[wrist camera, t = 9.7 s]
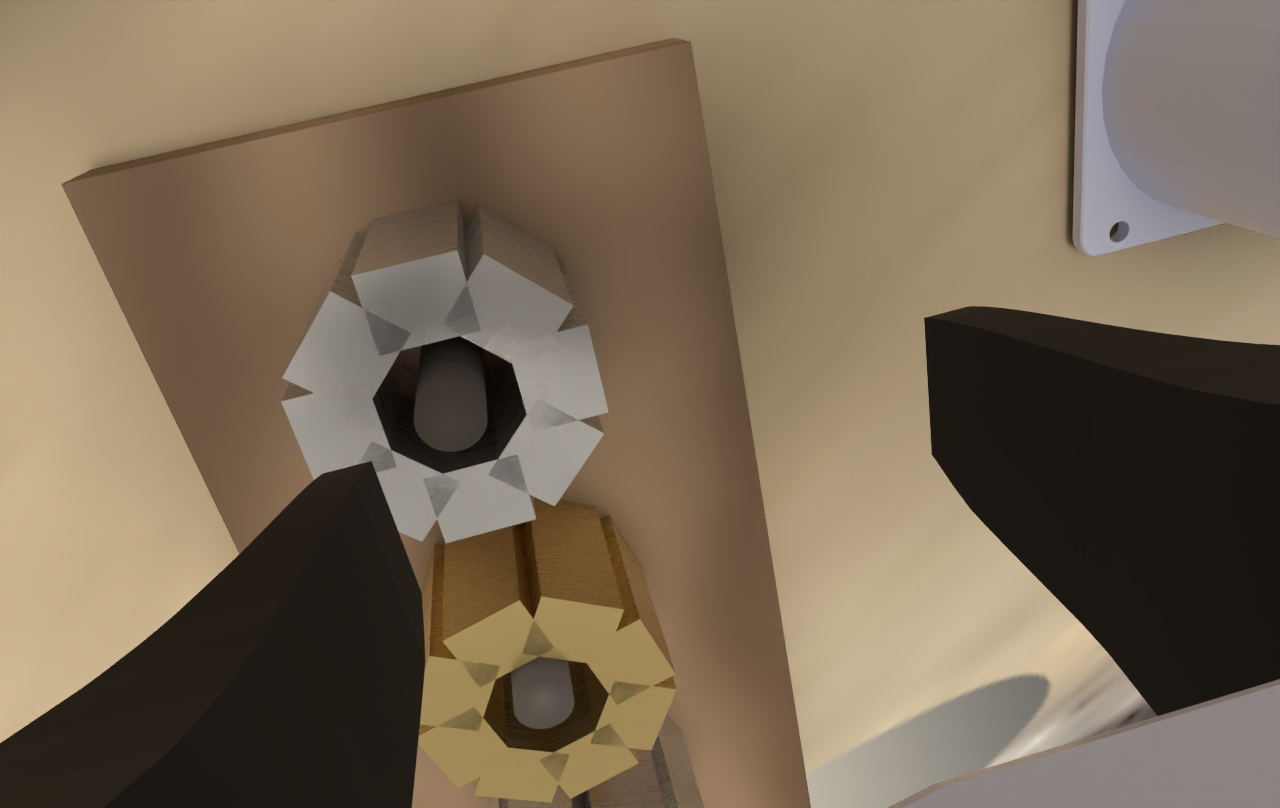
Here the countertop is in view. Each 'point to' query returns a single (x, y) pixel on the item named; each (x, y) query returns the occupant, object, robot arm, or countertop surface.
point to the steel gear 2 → (635, 781)
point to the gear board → (455, 368)
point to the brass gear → (541, 654)
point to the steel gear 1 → (434, 311)
